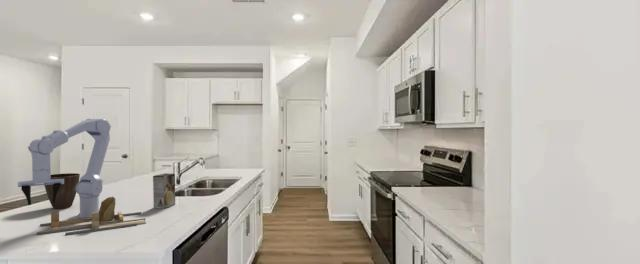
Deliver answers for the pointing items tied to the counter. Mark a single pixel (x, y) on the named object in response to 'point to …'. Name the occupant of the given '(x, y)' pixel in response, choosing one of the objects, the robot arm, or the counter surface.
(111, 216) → the rock
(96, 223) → the maple strip
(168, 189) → the coffee box
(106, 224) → the rails
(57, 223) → the oak sled
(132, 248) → the counter surface
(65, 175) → the plant pot
